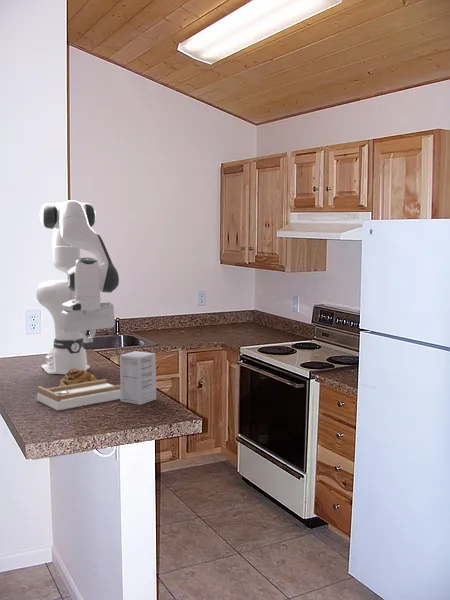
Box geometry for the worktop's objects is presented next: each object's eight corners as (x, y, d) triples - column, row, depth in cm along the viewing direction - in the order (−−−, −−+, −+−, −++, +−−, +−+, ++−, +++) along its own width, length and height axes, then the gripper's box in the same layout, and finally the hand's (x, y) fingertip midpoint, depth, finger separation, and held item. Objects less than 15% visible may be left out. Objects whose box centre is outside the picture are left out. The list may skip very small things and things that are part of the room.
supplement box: (157, 399, 227) (157, 353, 225) (141, 405, 219) (140, 357, 217) (136, 395, 232) (135, 350, 230) (119, 401, 224) (119, 354, 222)
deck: (37, 400, 224) (37, 386, 223) (102, 389, 241) (102, 376, 240) (57, 410, 212) (57, 395, 211) (124, 397, 228) (124, 384, 228)
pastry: (53, 388, 242) (52, 367, 241) (85, 381, 253) (85, 362, 252) (73, 394, 233) (72, 373, 232) (106, 387, 244) (105, 367, 243)
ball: (69, 396, 225) (60, 403, 223) (63, 387, 223) (54, 394, 221) (74, 398, 222) (65, 405, 220) (69, 389, 220) (60, 397, 218)
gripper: (109, 301, 233) (109, 337, 235) (57, 305, 220) (58, 344, 222) (118, 302, 229) (118, 340, 230) (65, 307, 215) (66, 346, 217)
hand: (88, 342), depth 226 cm, fingers closed
